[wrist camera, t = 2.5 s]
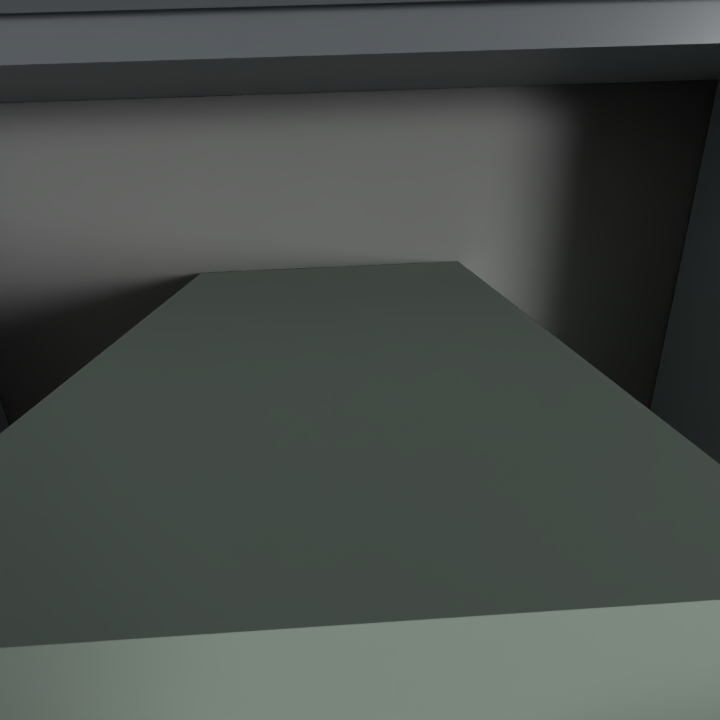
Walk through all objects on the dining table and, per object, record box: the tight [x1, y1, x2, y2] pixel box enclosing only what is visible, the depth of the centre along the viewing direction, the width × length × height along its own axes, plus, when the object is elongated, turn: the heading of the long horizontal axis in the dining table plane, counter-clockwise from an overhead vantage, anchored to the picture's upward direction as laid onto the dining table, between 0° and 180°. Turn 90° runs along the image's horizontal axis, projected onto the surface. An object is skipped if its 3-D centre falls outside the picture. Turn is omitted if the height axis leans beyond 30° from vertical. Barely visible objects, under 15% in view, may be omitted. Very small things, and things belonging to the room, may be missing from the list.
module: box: [0, 262, 720, 720], centre depth 7 cm, size 5×8×8 cm, turn 2°
